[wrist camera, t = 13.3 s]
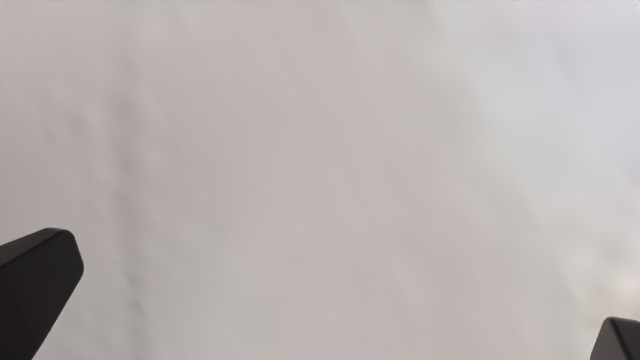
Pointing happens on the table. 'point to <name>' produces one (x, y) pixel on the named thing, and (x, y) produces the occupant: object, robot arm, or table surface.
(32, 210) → the table surface
